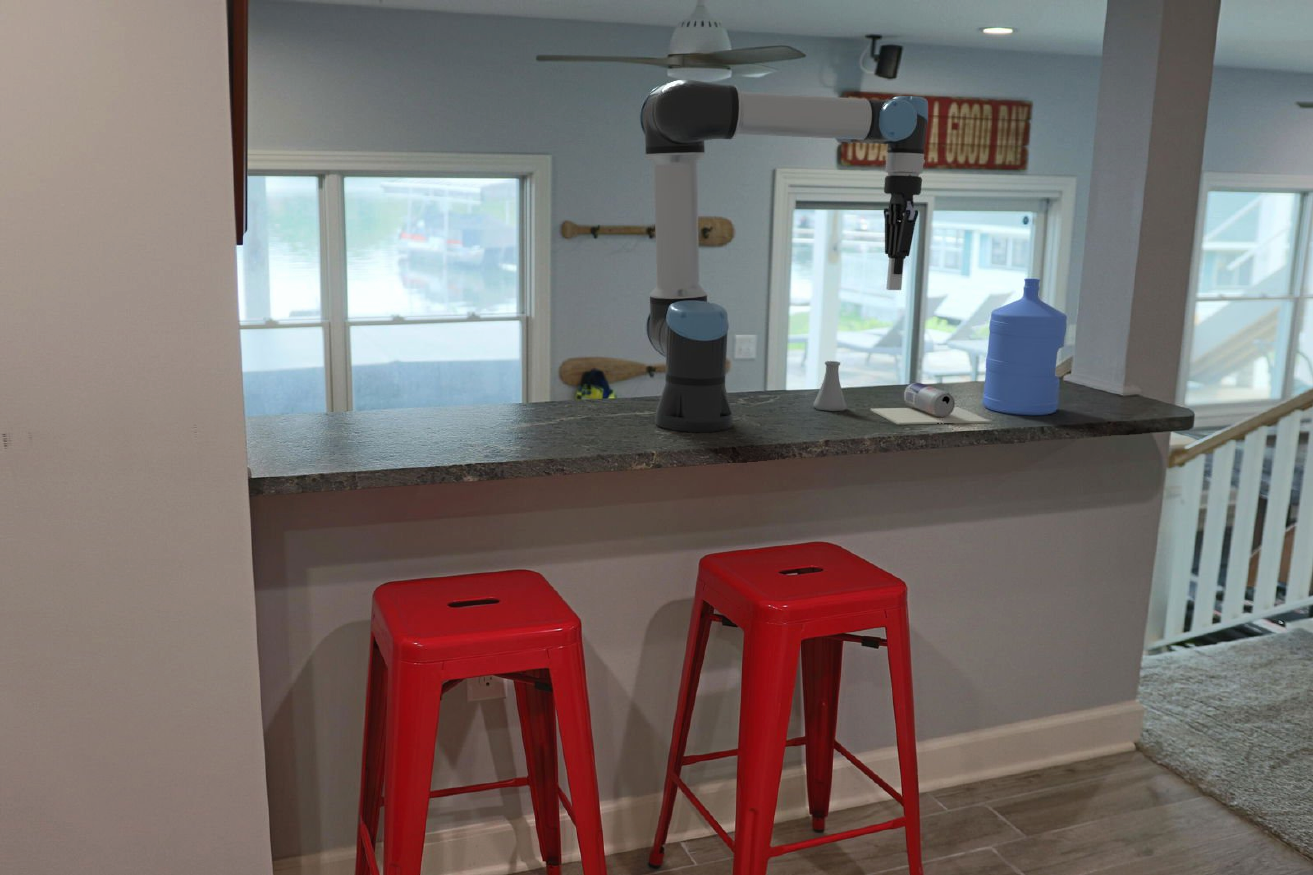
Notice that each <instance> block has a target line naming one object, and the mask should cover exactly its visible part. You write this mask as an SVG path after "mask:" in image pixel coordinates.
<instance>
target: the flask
mask: <svg viewBox="0 0 1313 875" xmlns="http://www.w3.org/2000/svg"><path fill="white" fill-rule="evenodd" d="M824 365H825V373H824V377H823V380H822V383H821V386H820V388H819V391H818V393H817V395H816V398H815V400H814V403H813V405H812V407H813V408H815V409H816V410H820V411H821V410H822V411H829V412H832V411H833V412H835V411H836V412H837V411H845V410H847V409H848V407H847V404H846V400H845V397H844V393H843V389H842V385H841V382H840V375H839V369H840V368H839V366H841V362H840V361H836V360H826V361H824Z"/></svg>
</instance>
